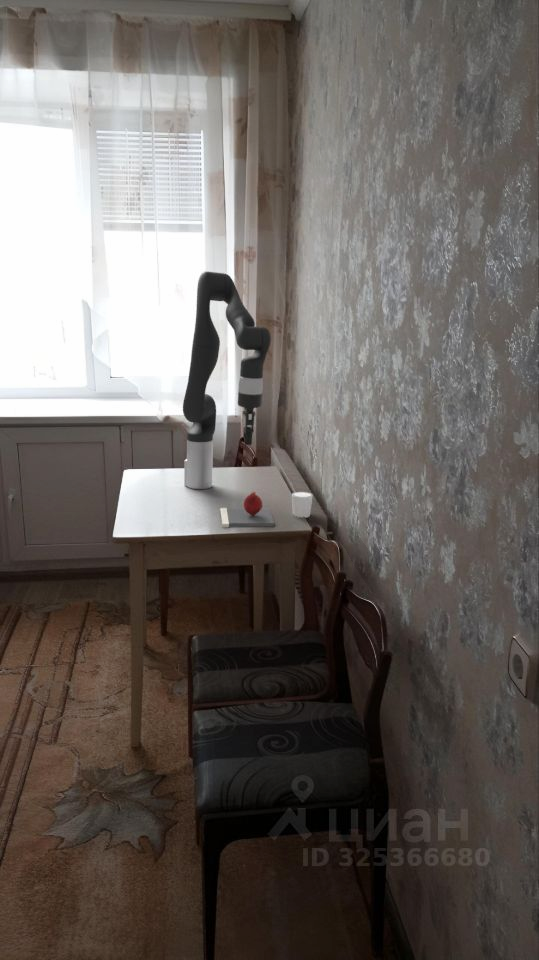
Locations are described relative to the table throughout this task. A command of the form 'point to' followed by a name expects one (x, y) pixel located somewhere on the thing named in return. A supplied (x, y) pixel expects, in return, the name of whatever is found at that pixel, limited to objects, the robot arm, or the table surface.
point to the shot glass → (301, 503)
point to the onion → (252, 504)
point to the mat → (245, 518)
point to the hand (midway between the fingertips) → (247, 441)
